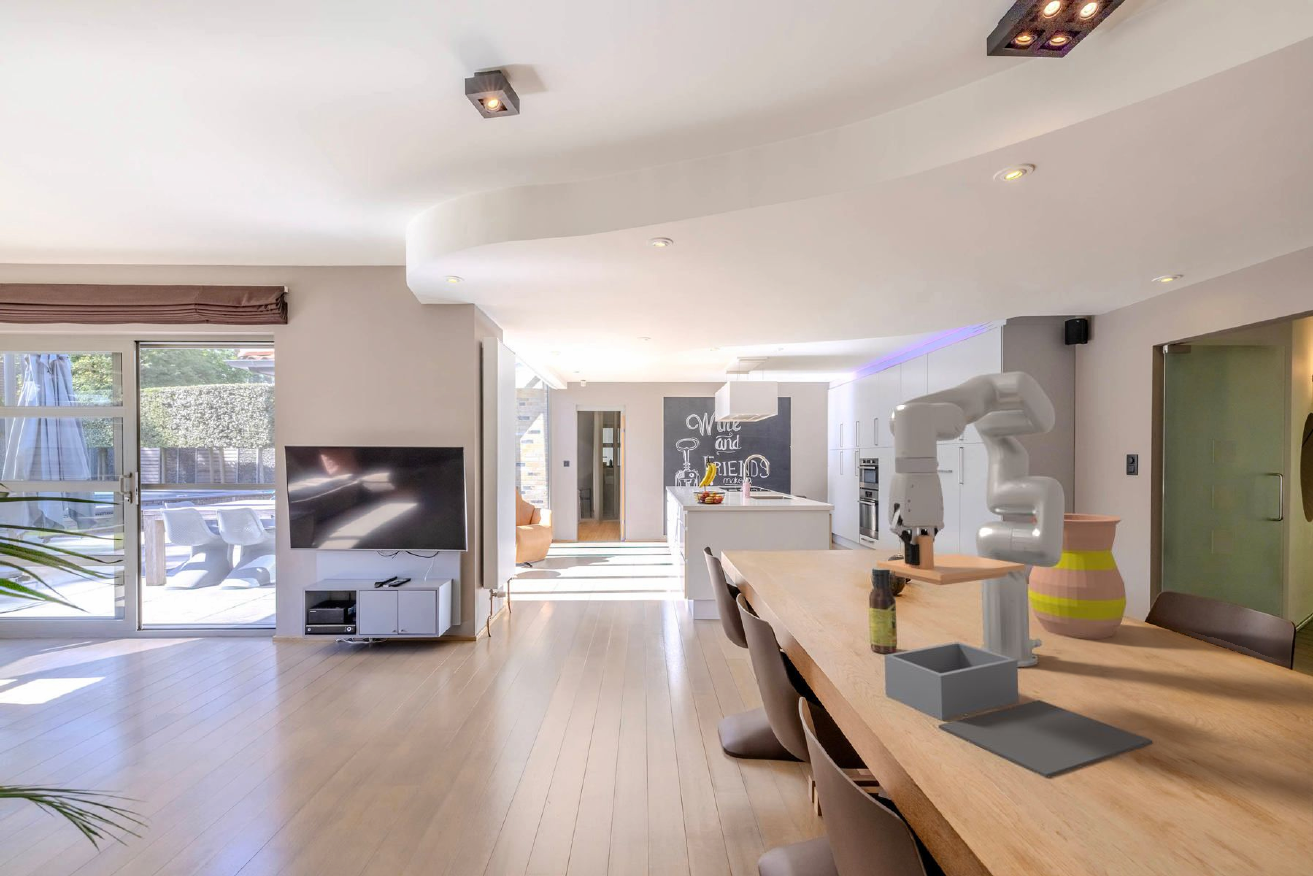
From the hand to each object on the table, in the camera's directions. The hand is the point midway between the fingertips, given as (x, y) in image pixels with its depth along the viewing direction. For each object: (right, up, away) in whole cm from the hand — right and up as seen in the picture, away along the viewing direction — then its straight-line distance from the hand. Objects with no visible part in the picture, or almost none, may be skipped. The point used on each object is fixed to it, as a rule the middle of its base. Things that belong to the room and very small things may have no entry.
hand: (918, 563), depth 127 cm
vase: (+61, -27, +49) cm, 83 cm away
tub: (+8, -27, +3) cm, 28 cm away
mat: (+15, -27, -14) cm, 34 cm away
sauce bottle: (+5, -28, +35) cm, 45 cm away
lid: (+7, -3, +3) cm, 9 cm away
